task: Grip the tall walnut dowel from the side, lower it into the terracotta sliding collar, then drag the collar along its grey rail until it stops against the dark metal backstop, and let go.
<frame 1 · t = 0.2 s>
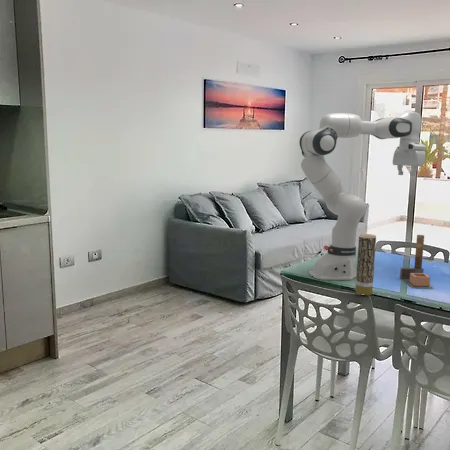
hand: (406, 175, 241), 47 cm above the table, tool pointing down, fingers open, 8 cm apart
bark textured cylinder: (363, 294, 211), on the table
dowel: (417, 276, 241), on the table
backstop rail: (414, 281, 232), on the table
collar: (419, 279, 225), point 3 cm above the table, slide at -6.0 cm
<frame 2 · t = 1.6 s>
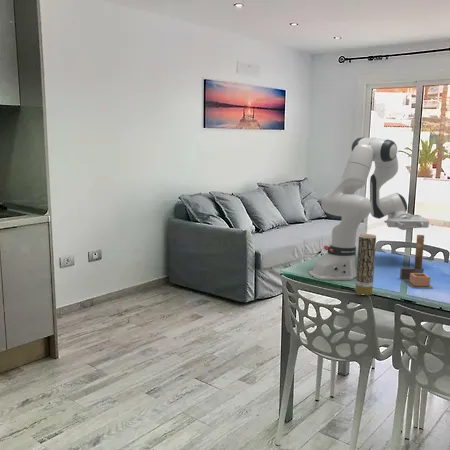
hand: (412, 225, 249), 23 cm above the table, tool horizontal, fingers open, 8 cm apart
nothing on the table moved.
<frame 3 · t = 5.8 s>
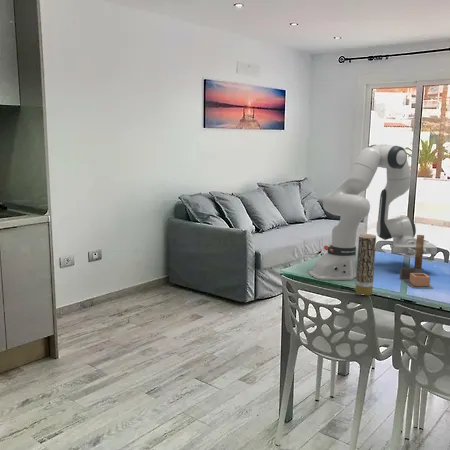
hand: (419, 252, 238), 12 cm above the table, tool horizontal, fingers closed on dowel, 3 cm apart
dowel: (417, 276, 241), on the table, touching gripper
everything else where it was.
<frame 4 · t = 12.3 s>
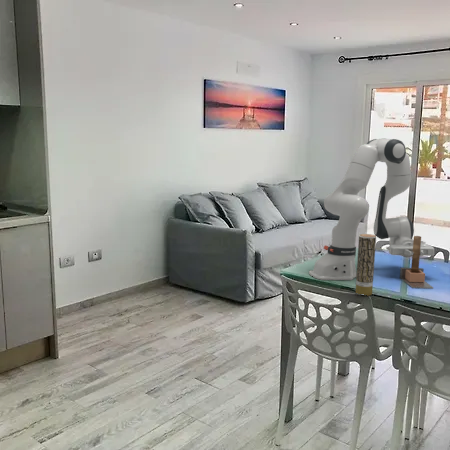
hand: (416, 254, 229), 13 cm above the table, tool horizontal, fingers closed on dowel, 3 cm apart
dowel: (414, 279, 232), point 1 cm above the table, touching collar, gripper
collar: (414, 275, 231), point 3 cm above the table, slide at 0.0 cm, touching dowel
everything else where it was.
when the fingers open (13 cm above the table, at t = 13.0 s): dowel stays where it is, resting on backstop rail.
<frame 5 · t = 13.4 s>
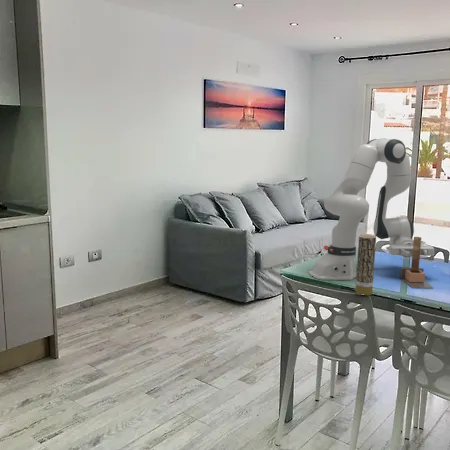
hand: (416, 254, 229), 13 cm above the table, tool horizontal, fingers open, 7 cm apart
dowel: (414, 280, 232), point 1 cm above the table, touching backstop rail
collar: (414, 275, 231), point 3 cm above the table, slide at 0.0 cm
everything else where it was.
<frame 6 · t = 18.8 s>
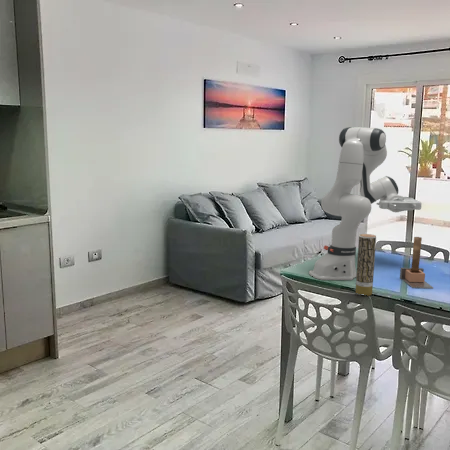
hand: (404, 207, 246), 32 cm above the table, tool horizontal, fingers open, 8 cm apart
nothing on the table moved.
at the end: dowel 0.7 cm from the collar (horizontally); collar slide at 0.0 cm; dowel tilted 1° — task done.
